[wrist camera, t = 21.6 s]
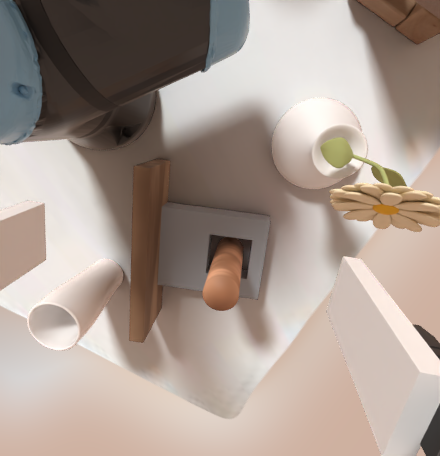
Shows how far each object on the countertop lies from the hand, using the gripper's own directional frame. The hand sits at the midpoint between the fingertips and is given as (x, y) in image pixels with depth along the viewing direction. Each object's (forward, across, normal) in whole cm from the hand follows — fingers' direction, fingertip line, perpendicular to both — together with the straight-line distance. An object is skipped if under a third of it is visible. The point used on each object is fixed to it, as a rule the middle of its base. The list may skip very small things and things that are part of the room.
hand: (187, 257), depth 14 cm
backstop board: (+32, -9, -13) cm, 36 cm away
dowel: (+32, +2, -13) cm, 35 cm away
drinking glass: (+32, -17, -20) cm, 42 cm away
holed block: (+32, -1, -13) cm, 35 cm away
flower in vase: (+33, +11, +4) cm, 35 cm away
